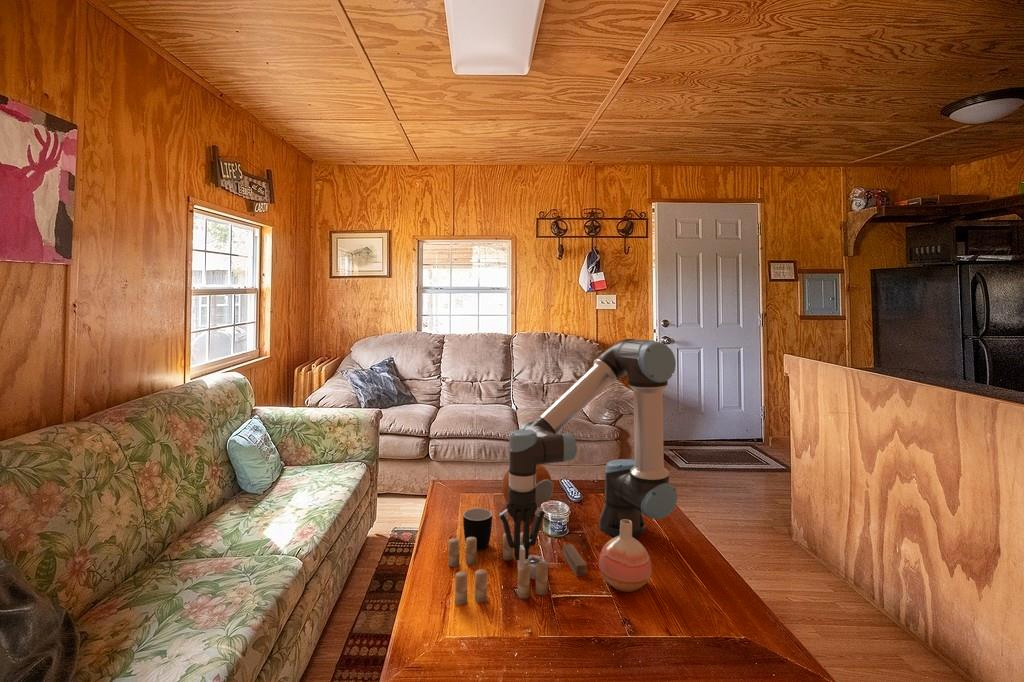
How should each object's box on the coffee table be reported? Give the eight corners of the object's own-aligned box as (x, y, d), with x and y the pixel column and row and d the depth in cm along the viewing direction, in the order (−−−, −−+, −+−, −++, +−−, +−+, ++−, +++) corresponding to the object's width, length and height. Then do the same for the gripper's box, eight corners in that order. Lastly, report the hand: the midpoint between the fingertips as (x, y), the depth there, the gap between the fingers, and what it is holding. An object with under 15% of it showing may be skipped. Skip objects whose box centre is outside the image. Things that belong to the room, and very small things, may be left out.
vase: (652, 576, 133) (654, 515, 132) (649, 605, 120) (651, 537, 119) (602, 567, 137) (604, 507, 136) (594, 594, 124) (596, 528, 123)
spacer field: (527, 553, 145) (528, 530, 144) (549, 595, 123) (549, 569, 123) (448, 561, 139) (448, 538, 139) (456, 607, 118) (456, 579, 118)
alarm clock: (528, 492, 193) (529, 450, 192) (561, 506, 180) (562, 461, 179) (492, 505, 180) (492, 460, 179) (524, 521, 167) (525, 472, 166)
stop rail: (571, 553, 145) (572, 544, 145) (586, 575, 133) (586, 564, 133) (562, 554, 144) (562, 545, 144) (576, 576, 132) (576, 566, 132)
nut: (540, 565, 138) (541, 553, 138) (547, 578, 131) (548, 566, 131) (520, 567, 137) (520, 555, 136) (526, 581, 130) (526, 568, 130)
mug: (496, 549, 147) (496, 517, 146) (468, 555, 143) (468, 522, 142) (482, 532, 158) (482, 502, 157) (456, 537, 154) (456, 506, 153)
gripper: (541, 480, 136) (539, 560, 138) (496, 483, 134) (495, 565, 135) (549, 490, 129) (547, 574, 131) (501, 494, 126) (500, 580, 128)
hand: (521, 570), depth 133 cm, fingers closed
